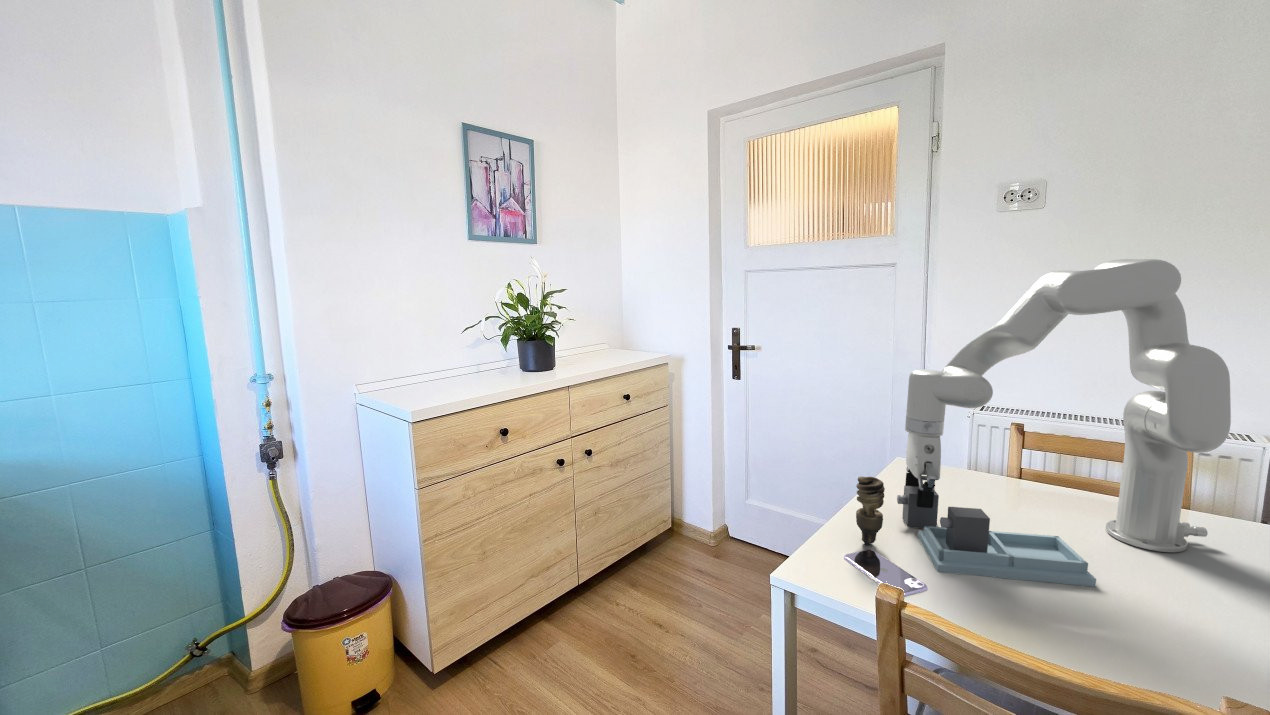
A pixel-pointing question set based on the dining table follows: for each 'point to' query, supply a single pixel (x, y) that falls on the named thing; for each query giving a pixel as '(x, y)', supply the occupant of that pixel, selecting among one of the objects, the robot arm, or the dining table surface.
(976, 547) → the docked twin block
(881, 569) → the mobile phone
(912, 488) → the plug block
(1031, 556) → the tray
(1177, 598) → the dining table surface
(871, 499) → the light bulb
